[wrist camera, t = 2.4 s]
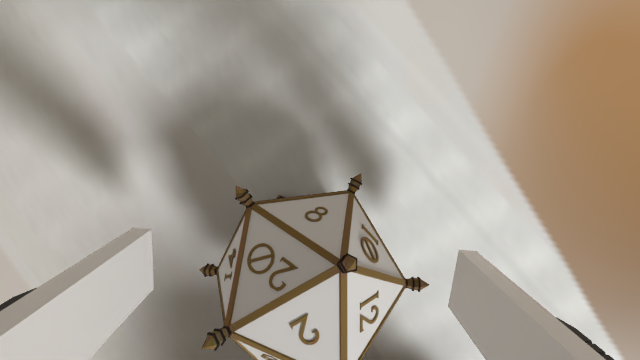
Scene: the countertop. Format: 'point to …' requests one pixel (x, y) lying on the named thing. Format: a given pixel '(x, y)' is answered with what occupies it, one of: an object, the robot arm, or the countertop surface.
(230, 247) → the game die
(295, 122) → the countertop surface
